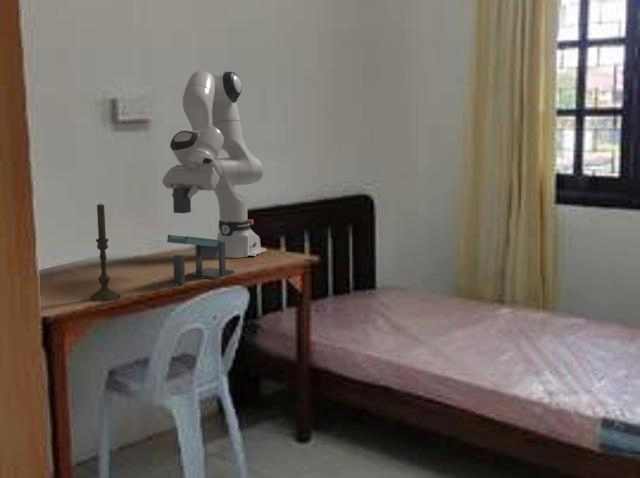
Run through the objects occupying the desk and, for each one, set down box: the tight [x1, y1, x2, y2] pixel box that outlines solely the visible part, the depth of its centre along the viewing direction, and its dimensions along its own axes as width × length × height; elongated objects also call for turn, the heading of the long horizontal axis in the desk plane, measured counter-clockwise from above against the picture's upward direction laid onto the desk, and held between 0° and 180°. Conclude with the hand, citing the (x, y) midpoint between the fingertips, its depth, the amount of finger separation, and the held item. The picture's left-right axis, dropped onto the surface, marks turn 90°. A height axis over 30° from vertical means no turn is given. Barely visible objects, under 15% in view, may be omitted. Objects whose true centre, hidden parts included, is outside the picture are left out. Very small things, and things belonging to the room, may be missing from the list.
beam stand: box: [172, 242, 235, 286], centre depth 281 cm, size 25×12×12 cm, turn 152°
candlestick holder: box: [89, 202, 121, 302], centre depth 251 cm, size 9×9×30 cm
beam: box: [167, 234, 222, 259], centre depth 279 cm, size 23×9×6 cm, turn 152°
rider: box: [172, 188, 192, 214], centre depth 270 cm, size 4×4×8 cm
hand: (180, 197), depth 270 cm, fingers closed on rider, 4 cm apart
